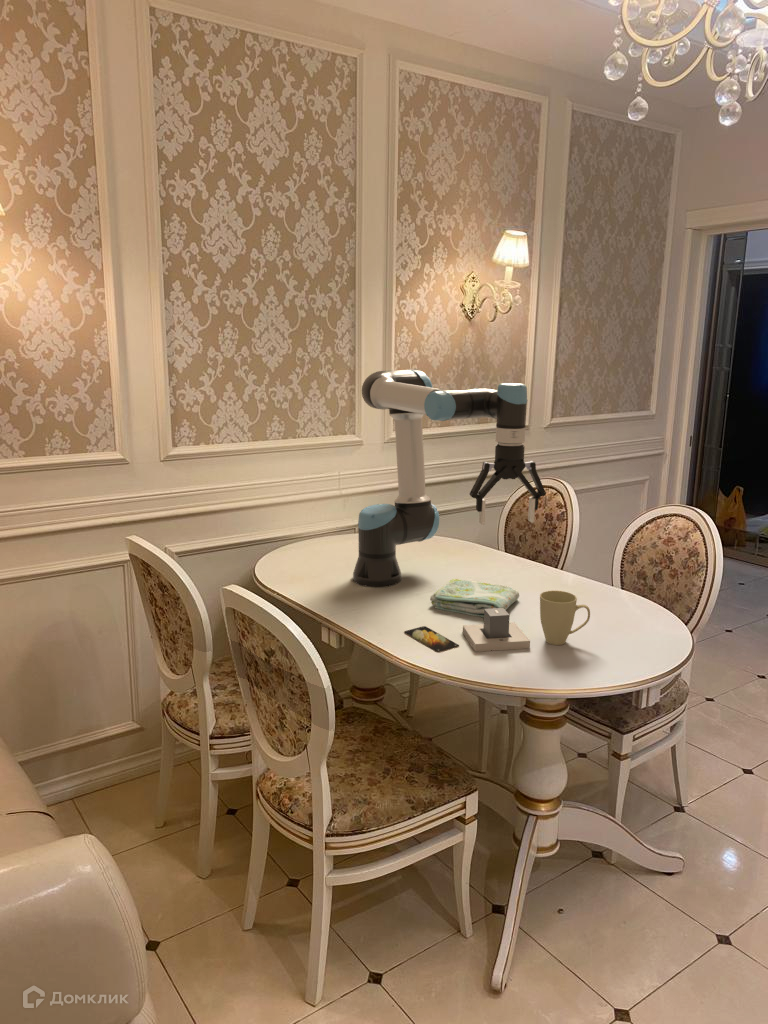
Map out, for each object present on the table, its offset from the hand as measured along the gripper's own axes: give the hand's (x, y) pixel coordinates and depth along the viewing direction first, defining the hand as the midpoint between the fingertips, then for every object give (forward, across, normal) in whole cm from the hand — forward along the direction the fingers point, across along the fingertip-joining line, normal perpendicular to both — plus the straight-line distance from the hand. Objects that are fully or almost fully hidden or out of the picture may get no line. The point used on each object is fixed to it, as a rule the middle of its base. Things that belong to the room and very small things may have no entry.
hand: (506, 522), depth 199 cm
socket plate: (+26, -7, -16) cm, 32 cm away
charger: (+26, -7, -16) cm, 32 cm away
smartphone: (+27, -23, -13) cm, 38 cm away
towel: (+27, -5, +10) cm, 30 cm away
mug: (+27, +9, -19) cm, 34 cm away
